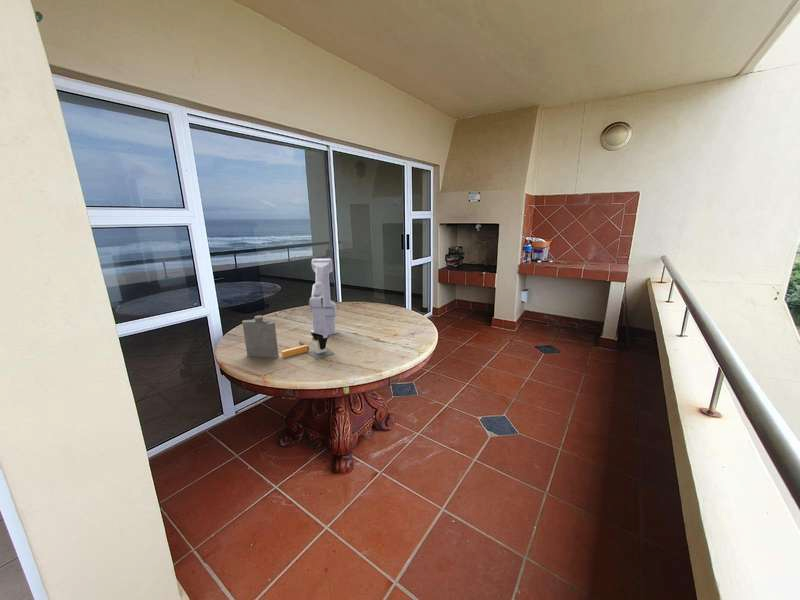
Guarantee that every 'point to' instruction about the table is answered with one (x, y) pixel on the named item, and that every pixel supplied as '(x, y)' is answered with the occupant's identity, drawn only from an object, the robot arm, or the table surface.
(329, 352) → the slate mat
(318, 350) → the white block
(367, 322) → the table surface
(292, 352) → the orange bar
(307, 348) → the walnut channel
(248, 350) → the hip flask
